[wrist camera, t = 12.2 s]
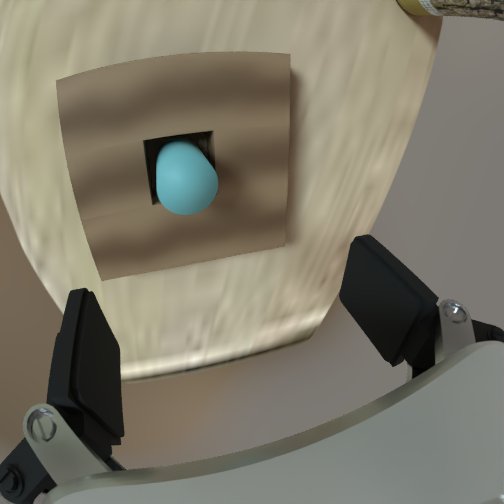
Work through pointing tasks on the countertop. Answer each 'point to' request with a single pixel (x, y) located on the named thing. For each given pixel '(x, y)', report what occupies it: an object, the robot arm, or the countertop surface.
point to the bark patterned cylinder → (455, 8)
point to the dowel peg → (184, 177)
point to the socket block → (168, 124)
